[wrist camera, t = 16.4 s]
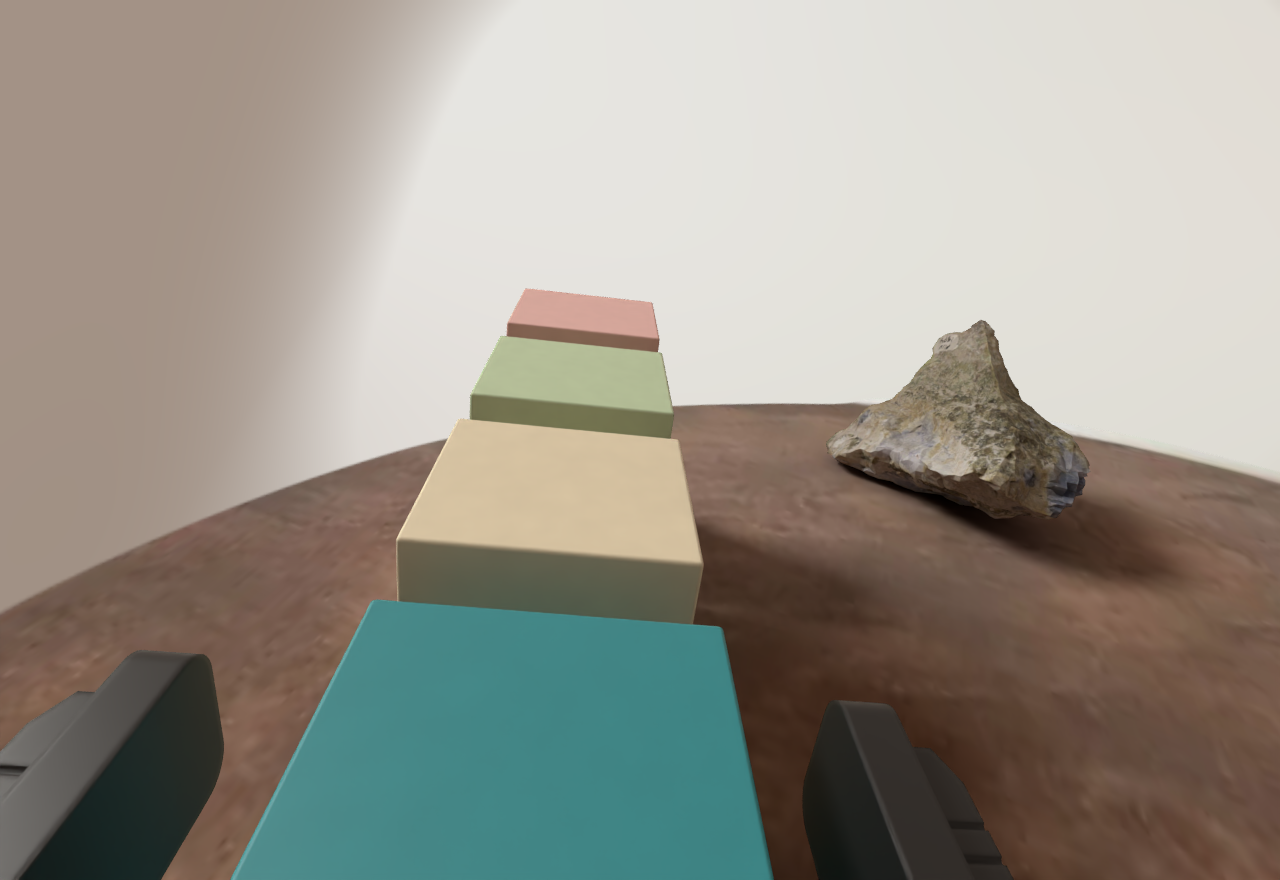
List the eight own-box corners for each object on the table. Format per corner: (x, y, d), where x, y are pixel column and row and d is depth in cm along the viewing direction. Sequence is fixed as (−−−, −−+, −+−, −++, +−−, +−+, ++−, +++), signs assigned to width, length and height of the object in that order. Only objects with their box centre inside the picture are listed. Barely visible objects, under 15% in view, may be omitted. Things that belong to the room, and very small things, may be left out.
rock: (807, 432, 38) (948, 305, 38) (856, 496, 42) (986, 378, 41) (955, 547, 29) (1145, 379, 28) (1003, 618, 32) (1175, 467, 32)
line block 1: (629, 566, 27) (660, 338, 24) (496, 555, 27) (506, 321, 23) (627, 501, 32) (652, 301, 28) (513, 491, 31) (524, 287, 28)
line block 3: (640, 913, 15) (705, 564, 12) (403, 903, 15) (394, 538, 11) (634, 731, 20) (680, 438, 16) (452, 719, 20) (457, 417, 16)
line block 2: (632, 691, 21) (674, 413, 18) (463, 680, 21) (469, 393, 17) (629, 590, 26) (662, 352, 22) (490, 579, 25) (500, 334, 22)
